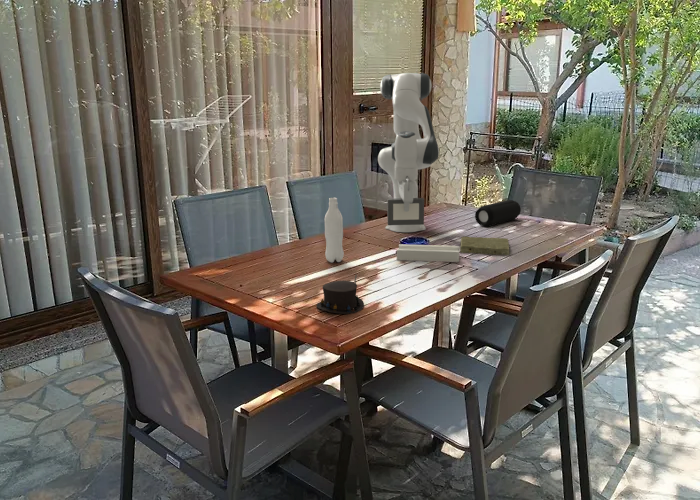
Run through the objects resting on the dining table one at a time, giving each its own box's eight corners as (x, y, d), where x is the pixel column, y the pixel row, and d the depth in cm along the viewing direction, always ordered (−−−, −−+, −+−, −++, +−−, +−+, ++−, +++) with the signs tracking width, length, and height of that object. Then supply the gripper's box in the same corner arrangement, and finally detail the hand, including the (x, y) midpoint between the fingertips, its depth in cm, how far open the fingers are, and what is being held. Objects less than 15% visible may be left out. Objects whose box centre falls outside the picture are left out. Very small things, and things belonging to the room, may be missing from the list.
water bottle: (335, 257, 250) (333, 195, 244) (347, 260, 245) (346, 198, 239) (321, 261, 246) (319, 198, 239) (334, 264, 241) (332, 200, 234)
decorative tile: (460, 243, 270) (460, 235, 269) (508, 244, 266) (508, 236, 265) (458, 254, 253) (459, 246, 252) (509, 256, 249) (510, 248, 248)
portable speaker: (505, 217, 316) (506, 197, 313) (521, 220, 308) (522, 200, 306) (473, 225, 300) (473, 205, 297) (489, 228, 293) (490, 208, 290)
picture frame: (387, 223, 247) (387, 198, 244) (422, 222, 247) (423, 197, 244) (388, 225, 244) (388, 200, 241) (423, 224, 244) (424, 199, 241)
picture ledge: (399, 253, 254) (399, 244, 253) (459, 255, 249) (459, 246, 248) (396, 259, 245) (396, 250, 244) (458, 262, 241) (458, 252, 240)
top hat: (341, 319, 186) (340, 286, 184) (306, 308, 196) (305, 276, 193) (373, 305, 197) (373, 274, 194) (339, 295, 207) (338, 265, 204)
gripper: (417, 178, 230) (416, 215, 234) (411, 170, 250) (411, 204, 254) (400, 179, 230) (400, 215, 234) (395, 171, 250) (395, 205, 254)
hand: (405, 210), depth 244 cm, fingers closed on picture frame, 3 cm apart
